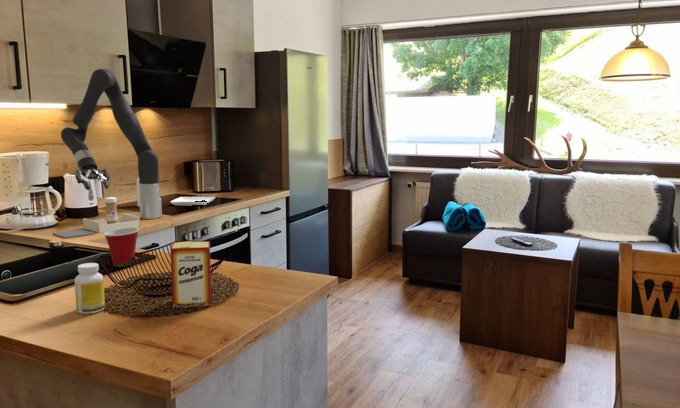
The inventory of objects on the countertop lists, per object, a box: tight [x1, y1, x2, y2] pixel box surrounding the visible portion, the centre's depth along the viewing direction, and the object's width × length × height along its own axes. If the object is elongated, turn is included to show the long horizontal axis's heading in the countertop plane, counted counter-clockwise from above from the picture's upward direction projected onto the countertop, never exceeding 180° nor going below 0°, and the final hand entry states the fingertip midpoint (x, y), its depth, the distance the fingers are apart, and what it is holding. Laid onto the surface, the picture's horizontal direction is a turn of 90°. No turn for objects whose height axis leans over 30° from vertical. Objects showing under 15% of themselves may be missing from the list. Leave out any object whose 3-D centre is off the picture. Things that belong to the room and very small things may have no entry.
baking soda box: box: [170, 240, 212, 305], centre depth 137 cm, size 10×6×16 cm
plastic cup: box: [102, 227, 140, 266], centre depth 173 cm, size 11×11×12 cm
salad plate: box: [169, 196, 216, 207], centre depth 310 cm, size 21×21×3 cm
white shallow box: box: [82, 212, 141, 234], centre depth 237 cm, size 19×14×4 cm
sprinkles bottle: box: [104, 196, 118, 224], centre depth 236 cm, size 5×5×13 cm
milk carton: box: [136, 176, 140, 208], centre depth 298 cm, size 7×7×19 cm
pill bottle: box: [74, 262, 106, 315], centre depth 131 cm, size 6×6×12 cm
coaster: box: [52, 228, 96, 239], centre depth 221 cm, size 12×12×1 cm
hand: (98, 188), depth 242 cm, fingers open, 8 cm apart
